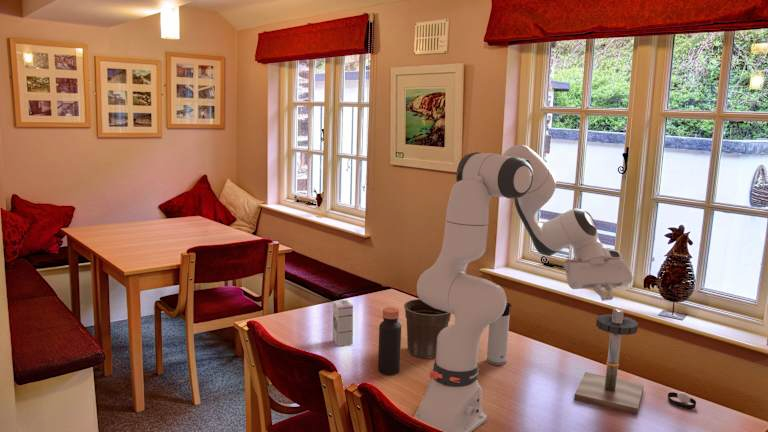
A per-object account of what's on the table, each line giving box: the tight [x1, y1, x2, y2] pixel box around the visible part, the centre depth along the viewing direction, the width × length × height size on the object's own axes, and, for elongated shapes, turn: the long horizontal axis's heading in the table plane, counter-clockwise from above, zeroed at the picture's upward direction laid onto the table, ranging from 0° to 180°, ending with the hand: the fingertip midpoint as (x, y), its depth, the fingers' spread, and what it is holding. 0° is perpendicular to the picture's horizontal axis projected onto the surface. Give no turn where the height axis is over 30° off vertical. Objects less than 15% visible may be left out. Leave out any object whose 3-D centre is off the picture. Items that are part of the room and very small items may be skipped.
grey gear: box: [595, 313, 639, 336], centre depth 182 cm, size 11×11×2 cm
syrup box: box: [332, 299, 354, 347], centre depth 218 cm, size 6×6×14 cm
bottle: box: [377, 306, 402, 376], centre depth 196 cm, size 7×7×20 cm
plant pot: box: [403, 298, 452, 359], centre depth 212 cm, size 16×16×16 cm
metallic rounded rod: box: [605, 308, 625, 391], centre depth 184 cm, size 3×3×24 cm
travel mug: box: [486, 302, 512, 366], centre depth 206 cm, size 6×7×20 cm
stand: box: [573, 371, 645, 416], centre depth 186 cm, size 17×17×2 cm
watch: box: [667, 391, 697, 410], centre depth 182 cm, size 8×5×4 cm, turn 45°
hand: (607, 299), depth 186 cm, fingers closed
